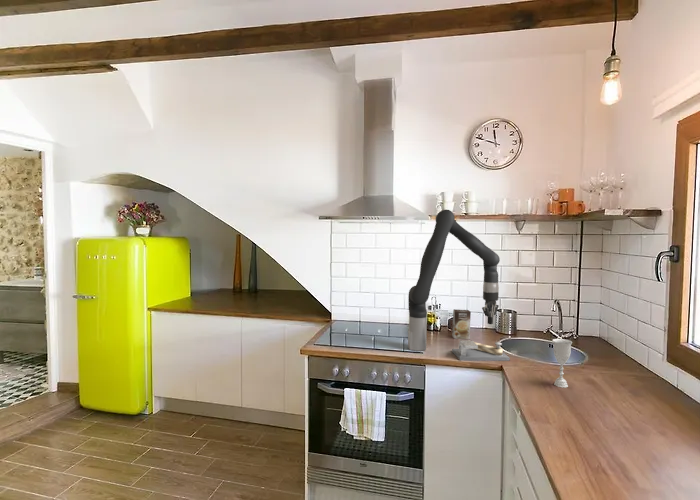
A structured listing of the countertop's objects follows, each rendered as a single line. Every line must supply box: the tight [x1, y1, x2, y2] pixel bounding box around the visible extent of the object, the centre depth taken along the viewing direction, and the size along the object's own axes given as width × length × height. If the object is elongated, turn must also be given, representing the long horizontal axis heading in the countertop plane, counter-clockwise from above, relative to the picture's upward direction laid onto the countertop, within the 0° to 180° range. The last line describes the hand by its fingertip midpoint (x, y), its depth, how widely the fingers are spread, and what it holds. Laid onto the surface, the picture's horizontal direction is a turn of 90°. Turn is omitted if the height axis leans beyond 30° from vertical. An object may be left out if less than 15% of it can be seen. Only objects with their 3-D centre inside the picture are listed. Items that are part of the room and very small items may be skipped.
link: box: [473, 341, 504, 355], centre depth 196 cm, size 18×4×2 cm, turn 41°
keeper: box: [458, 339, 478, 356], centre depth 191 cm, size 7×9×7 cm
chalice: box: [552, 338, 573, 388], centre depth 157 cm, size 7×7×18 cm
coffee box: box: [451, 309, 471, 340], centre depth 227 cm, size 9×6×16 cm
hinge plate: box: [451, 341, 511, 362], centre depth 194 cm, size 24×14×7 cm, turn 91°
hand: (490, 323), depth 201 cm, fingers closed
